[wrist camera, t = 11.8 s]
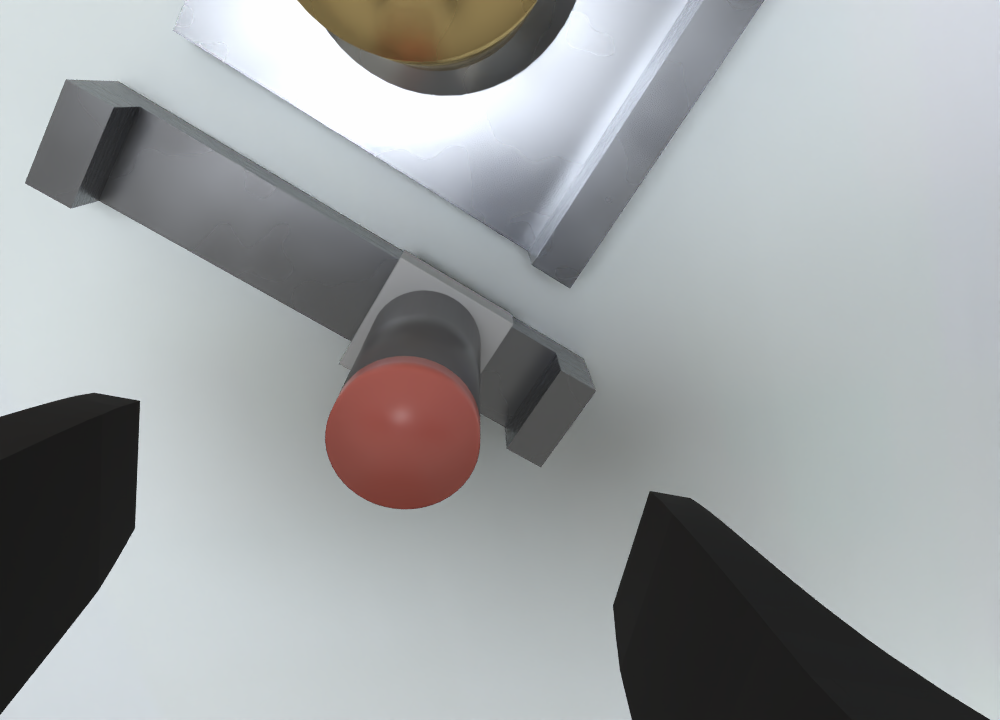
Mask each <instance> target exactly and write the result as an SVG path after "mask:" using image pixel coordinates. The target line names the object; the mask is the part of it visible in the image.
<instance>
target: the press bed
mask: <svg viewBox="0 0 1000 720" xmlns="http://www.w3.org/2000/svg"><path fill="white" fill-rule="evenodd" d="M763 1H764V0H537V2H536V4H535V5H534V7H533V9H532V10H531V12H530V13H529V15H528V17H527V18H526V20H525V22H524V23H523V25H522V26H521V28H520V29H519V30H518V31H517V33H516V34H515V35H514V36H513V38H512V39H510V40H509V41H508V42H507V43H506V44H505V45H504V46H503V47H502V48H501V49H499V50H498V51H497V52H495V53H494V54H493V55H491V56H490V57H488V58H486V59H484V60H482V61H480V62H478V63H476V64H473V65H470V66H468V67H465V68H460V69H456V70H449V71H426V70H421V69H416V68H411V67H408V66H405V65H403V64H400V63H397V62H394V61H391V60H389V59H386V58H383V57H380V56H377V55H375V54H372V53H369V52H366V51H364V50H361V49H359V48H357V47H355V46H353V45H351V44H349V43H347V42H345V41H343V40H342V39H340V38H339V37H337V36H336V35H334V34H333V33H332V32H330V31H329V30H327V29H326V28H324V27H323V26H322V25H321V24H320V23H319V22H318V21H316V20H315V19H314V18H313V17H312V16H311V15H310V14H309V13H308V12H307V11H306V10H305V9H304V8H303V7H302V6H301V4H300V3H299V2H298V1H297V0H186V1H185V3H184V5H183V8H182V10H181V12H180V15H179V17H178V19H177V21H176V24H175V26H174V28H173V31H174V32H176V33H178V34H179V35H181V36H182V37H184V38H186V39H187V40H189V41H190V42H192V43H194V44H195V45H197V46H199V47H200V48H202V49H203V50H205V51H207V52H208V53H210V54H211V55H213V56H215V57H216V58H218V59H219V60H221V61H223V62H224V63H226V64H228V65H229V66H231V67H232V68H234V69H236V70H237V71H239V72H240V73H242V74H244V75H245V76H247V77H248V78H250V79H252V80H253V81H255V82H257V83H258V84H260V85H261V86H263V87H265V88H266V89H268V90H269V91H271V92H273V93H274V94H276V95H277V96H279V97H281V98H282V99H284V100H286V101H287V102H289V103H290V104H292V105H294V106H295V107H297V108H298V109H300V110H302V111H303V112H305V113H306V114H308V115H310V116H311V117H313V118H315V119H316V120H318V121H319V122H321V123H323V124H324V125H326V126H327V127H329V128H331V129H332V130H334V131H335V132H337V133H339V134H340V135H342V136H344V137H345V138H347V139H348V140H350V141H352V142H353V143H355V144H356V145H358V146H360V147H361V148H363V149H364V150H366V151H368V152H369V153H371V154H373V155H374V156H376V157H377V158H379V159H381V160H382V161H384V162H385V163H387V164H389V165H390V166H392V167H393V168H395V169H397V170H398V171H400V172H402V173H403V174H405V175H406V176H408V177H410V178H411V179H413V180H414V181H416V182H418V183H419V184H421V185H422V186H424V187H426V188H427V189H429V190H431V191H432V192H434V193H435V194H437V195H439V196H440V197H442V198H443V199H445V200H447V201H448V202H450V203H451V204H453V205H455V206H456V207H458V208H460V209H461V210H463V211H464V212H466V213H468V214H469V215H471V216H472V217H474V218H476V219H477V220H479V221H480V222H482V223H484V224H485V225H487V226H489V227H490V228H492V229H493V230H495V231H497V232H498V233H500V234H501V235H503V236H505V237H506V238H508V239H509V240H511V241H513V242H514V243H516V244H518V245H519V246H521V247H522V248H524V249H526V250H527V251H528V253H529V256H530V260H531V263H532V265H533V266H534V267H536V268H538V269H539V270H541V271H543V272H544V273H546V274H547V275H549V276H551V277H552V278H554V279H556V280H557V281H559V282H560V283H562V284H564V285H565V286H567V287H569V288H571V286H572V285H573V283H574V282H575V280H576V279H577V277H578V276H579V274H580V273H581V271H582V270H583V268H584V267H585V265H586V264H587V262H588V261H589V259H590V258H591V256H592V255H593V253H594V252H595V251H596V249H597V248H598V246H599V245H600V243H601V242H602V240H603V239H604V237H605V236H606V234H607V233H608V231H609V230H610V228H611V227H612V225H613V224H614V222H615V221H616V219H617V218H618V216H619V215H620V213H621V212H622V210H623V209H624V207H625V206H626V204H627V203H628V202H629V200H630V199H631V197H632V196H633V194H634V193H635V191H636V190H637V188H638V187H639V185H640V184H641V182H642V181H643V179H644V178H645V176H646V175H647V173H648V172H649V170H650V169H651V167H652V166H653V164H654V163H655V161H656V160H657V158H658V157H659V155H660V154H661V153H662V151H663V150H664V148H665V147H666V145H667V144H668V142H669V141H670V139H671V138H672V136H673V135H674V133H675V132H676V130H677V129H678V127H679V126H680V124H681V123H682V121H683V120H684V118H685V117H686V115H687V114H688V112H689V111H690V109H691V108H692V106H693V105H694V104H695V102H696V101H697V99H698V98H699V96H700V95H701V93H702V92H703V90H704V89H705V87H706V86H707V84H708V83H709V81H710V80H711V78H712V77H713V75H714V74H715V72H716V71H717V69H718V68H719V66H720V65H721V63H722V62H723V60H724V59H725V58H726V56H727V55H728V53H729V52H730V50H731V49H732V47H733V46H734V44H735V43H736V41H737V40H738V38H739V37H740V35H741V34H742V32H743V31H744V29H745V28H746V26H747V25H748V23H749V22H750V20H751V19H752V17H753V16H754V14H755V13H756V11H757V10H758V9H759V7H760V6H761V4H762V3H763Z"/></svg>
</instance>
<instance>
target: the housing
mask: <svg viewBox="0 0 1000 720" xmlns="http://www.w3.org/2000/svg"><path fill="white" fill-rule="evenodd" d="M297 1H298V2H299V3H300V4H301V6H302V7H303V8H304V9H305V10H306V11H307V12H308V13H309V14H310V15H311V16H312V17H313V18H314V19H315V20H316V21H318V22H319V23H320V24H321V25H322V26H323V27H324V28H326V29H327V30H329V31H330V32H332V33H333V34H334V35H336V36H337V37H339V38H340V39H342V40H343V41H345V42H347V43H349V44H351V45H353V46H355V47H357V48H359V49H361V50H364V51H366V52H369V53H372V54H375V55H377V56H380V57H383V58H386V59H389V60H391V61H394V62H397V63H400V64H403V65H405V66H408V67H411V68H416V69H421V70H426V71H449V70H456V69H460V68H465V67H468V66H470V65H473V64H476V63H478V62H480V61H482V60H484V59H486V58H488V57H490V56H491V55H493V54H494V53H495V52H497V51H498V50H499V49H501V48H502V47H503V46H504V45H505V44H506V43H507V42H508V41H509V40H510V39H512V38H513V36H514V35H515V34H516V33H517V31H518V30H519V29H520V28H521V26H522V25H523V23H524V22H525V20H526V18H527V17H528V15H529V13H530V12H531V10H532V9H533V7H534V5H535V4H536V2H537V0H297Z"/></svg>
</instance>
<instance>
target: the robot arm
mask: <svg viewBox="0 0 1000 720" xmlns="http://www.w3.org/2000/svg"><path fill="white" fill-rule="evenodd" d="M139 413H140V401H137V400H132V399H126V398H121V397H115V396H109V395H104V394H98V393H90V394H84V395H78V396H74V397H69V398H65V399H61V400H57V401H54V402H50V403H46V404H43V405H39V406H36V407H32V408H29V409H25V410H22V411H18V412H15V413H12V414H8V415H5V416H1V417H0V714H1V713H2V712H3V711H4V709H5V708H6V707H7V706H8V704H9V703H10V702H11V701H12V699H13V698H14V697H15V696H16V694H17V693H18V692H19V691H20V689H21V688H22V687H23V686H24V684H25V683H26V682H27V681H28V679H29V678H30V677H31V675H32V674H33V673H34V672H35V670H36V669H37V668H38V667H39V665H40V664H41V663H42V662H43V660H44V659H45V658H46V657H47V655H48V654H49V653H50V652H51V650H52V649H53V648H54V647H55V645H56V644H57V643H58V642H59V640H60V639H61V638H62V637H63V635H64V634H65V633H66V631H67V630H68V629H69V628H70V626H71V625H72V624H73V623H74V621H75V620H76V619H77V617H78V616H79V615H80V614H81V612H82V611H83V610H84V608H85V607H86V606H87V605H88V603H89V602H90V601H91V599H92V598H93V597H94V595H95V594H96V593H97V592H98V590H99V589H100V587H101V585H102V584H103V582H104V580H105V579H106V577H107V576H108V574H109V572H110V571H111V569H112V567H113V566H114V564H115V562H116V561H117V559H118V557H119V555H120V554H121V552H122V550H123V548H124V547H125V545H126V543H127V541H128V540H129V538H130V536H131V534H132V533H133V531H134V529H135V513H136V488H137V463H138V438H139ZM613 610H614V620H615V631H616V641H617V649H618V657H619V665H620V672H621V676H622V680H623V685H624V689H625V693H626V697H627V701H628V705H629V709H630V713H631V718H632V720H990V719H988V718H987V717H985V716H983V715H981V714H980V713H978V712H977V711H975V710H973V709H972V708H970V707H968V706H967V705H965V704H964V703H962V702H960V701H959V700H957V699H955V698H954V697H952V696H951V695H949V694H947V693H946V692H944V691H943V690H941V689H940V688H938V687H937V686H935V685H934V684H932V683H931V682H929V681H928V680H926V679H925V678H923V677H922V676H920V675H919V674H917V673H916V672H914V671H913V670H911V669H910V668H908V667H907V666H905V665H904V664H902V663H901V662H899V661H898V660H896V659H895V658H893V657H892V656H890V655H889V654H887V653H886V652H885V651H883V650H882V649H880V648H879V647H878V646H876V645H875V644H873V643H872V642H871V641H869V640H868V639H866V638H865V637H864V636H862V635H861V634H860V633H858V632H857V631H856V630H854V629H853V628H852V627H851V626H849V625H848V624H847V623H845V622H844V621H843V620H841V619H840V618H839V617H837V616H836V615H835V614H833V613H832V612H831V611H829V610H828V609H827V608H826V607H824V606H823V605H822V604H820V603H819V602H818V601H817V600H815V599H814V598H813V597H812V596H810V595H809V594H808V593H807V592H805V591H804V590H803V589H802V588H800V587H799V586H798V585H797V584H796V583H794V582H793V581H792V580H791V579H790V578H788V577H787V576H786V575H785V574H783V573H782V572H781V571H780V570H779V569H778V568H776V567H775V566H774V565H773V564H772V563H770V562H769V561H768V560H767V559H766V558H764V557H763V556H762V555H761V554H760V553H759V552H757V551H756V550H755V549H754V548H753V547H751V546H750V545H749V544H748V543H747V542H746V541H744V540H743V539H742V538H741V537H740V536H739V535H737V534H736V533H735V532H734V531H733V530H731V529H730V528H729V527H728V526H727V525H725V524H724V523H723V522H722V521H721V520H719V519H718V518H717V517H716V516H714V515H713V514H712V513H711V512H709V511H708V510H707V509H705V508H704V507H703V506H701V505H700V504H698V503H697V502H695V501H694V500H692V499H691V498H686V497H680V496H675V495H669V494H663V493H658V492H652V491H650V492H649V495H648V498H647V502H646V505H645V508H644V511H643V514H642V517H641V520H640V523H639V526H638V530H637V533H636V536H635V539H634V542H633V545H632V548H631V551H630V554H629V558H628V561H627V564H626V567H625V570H624V573H623V576H622V579H621V583H620V586H619V589H618V592H617V595H616V598H615V601H614V604H613Z"/></svg>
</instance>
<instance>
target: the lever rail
mask: <svg viewBox="0 0 1000 720" xmlns="http://www.w3.org/2000/svg"><path fill="white" fill-rule="evenodd" d="M25 183H26V184H27V185H29V186H31V187H33V188H35V189H37V190H38V191H40V192H42V193H44V194H46V195H47V196H49V197H51V198H53V199H55V200H56V201H58V202H60V203H62V204H64V205H66V206H67V207H69V208H74V207H78V206H82V205H85V204H89V203H92V202H96V201H101V202H102V203H104V204H106V205H108V206H109V207H111V208H113V209H115V210H117V211H118V212H120V213H122V214H124V215H126V216H127V217H129V218H131V219H133V220H135V221H136V222H138V223H140V224H142V225H144V226H145V227H147V228H149V229H151V230H153V231H154V232H156V233H158V234H160V235H162V236H163V237H165V238H167V239H169V240H170V241H172V242H174V243H176V244H178V245H179V246H181V247H183V248H185V249H187V250H188V251H190V252H192V253H194V254H196V255H197V256H199V257H201V258H203V259H205V260H206V261H208V262H210V263H212V264H214V265H215V266H217V267H219V268H221V269H222V270H224V271H226V272H228V273H230V274H231V275H233V276H235V277H237V278H239V279H240V280H242V281H244V282H246V283H248V284H249V285H251V286H253V287H255V288H257V289H258V290H260V291H262V292H264V293H266V294H267V295H269V296H271V297H273V298H274V299H276V300H278V301H280V302H282V303H283V304H285V305H287V306H289V307H291V308H292V309H294V310H296V311H298V312H300V313H301V314H303V315H305V316H307V317H309V318H310V319H312V320H314V321H316V322H318V323H319V324H321V325H323V326H325V327H327V328H328V329H330V330H332V331H334V332H335V333H337V334H339V335H341V336H343V337H344V338H346V339H348V340H350V341H352V339H353V337H354V336H355V334H356V332H357V331H358V329H359V327H360V325H361V324H362V322H363V320H364V319H365V317H366V315H367V313H368V312H369V310H370V308H371V307H372V305H373V303H374V301H375V300H376V298H377V296H378V295H379V293H380V291H381V290H382V288H383V286H384V284H385V283H386V281H387V279H388V278H389V276H390V274H391V272H392V271H393V269H394V267H395V266H396V264H397V262H398V260H399V259H400V257H401V255H402V254H403V251H402V250H400V249H398V248H397V247H395V246H393V245H392V244H390V243H388V242H387V241H385V240H383V239H382V238H380V237H378V236H377V235H375V234H373V233H372V232H370V231H368V230H367V229H365V228H363V227H361V226H360V225H358V224H356V223H355V222H353V221H351V220H350V219H348V218H346V217H345V216H343V215H341V214H340V213H338V212H336V211H335V210H333V209H331V208H330V207H328V206H326V205H325V204H323V203H321V202H319V201H318V200H316V199H314V198H313V197H311V196H309V195H308V194H306V193H304V192H303V191H301V190H299V189H298V188H296V187H294V186H293V185H291V184H289V183H288V182H286V181H284V180H283V179H281V178H279V177H278V176H276V175H274V174H272V173H271V172H269V171H267V170H266V169H264V168H262V167H261V166H259V165H257V164H256V163H254V162H252V161H251V160H249V159H247V158H246V157H244V156H242V155H241V154H239V153H237V152H236V151H234V150H232V149H231V148H229V147H227V146H225V145H224V144H222V143H220V142H219V141H217V140H215V139H214V138H212V137H210V136H209V135H207V134H205V133H204V132H202V131H200V130H199V129H197V128H195V127H194V126H192V125H190V124H189V123H187V122H185V121H184V120H182V119H180V118H178V117H177V116H175V115H173V114H172V113H170V112H168V111H167V110H165V109H163V108H162V107H160V106H158V105H157V104H155V103H153V102H152V101H150V100H148V99H147V98H145V97H143V96H142V95H140V94H138V93H137V92H135V91H133V90H131V89H130V88H128V87H126V86H125V85H123V84H121V83H120V82H118V81H93V80H66V81H65V83H64V86H63V88H62V91H61V93H60V96H59V98H58V101H57V103H56V106H55V108H54V111H53V114H52V116H51V119H50V121H49V124H48V126H47V129H46V131H45V134H44V136H43V139H42V141H41V144H40V146H39V149H38V151H37V154H36V157H35V159H34V162H33V164H32V167H31V169H30V172H29V174H28V177H27V179H26V182H25ZM512 318H513V325H512V327H511V328H510V330H509V331H508V333H507V335H506V336H505V338H504V339H503V341H502V342H501V344H500V345H499V347H498V348H497V350H496V351H495V353H494V354H493V356H492V357H491V359H490V360H489V362H488V363H487V365H486V366H485V368H484V369H483V371H482V373H481V374H480V413H481V414H483V415H484V416H486V417H488V418H490V419H492V420H493V421H495V422H497V423H499V424H500V425H502V426H504V427H505V432H506V446H507V449H509V450H510V451H512V452H514V453H516V454H518V455H520V456H521V457H523V458H525V459H527V460H529V461H530V462H532V463H534V464H536V465H538V466H539V467H541V466H542V465H543V464H544V462H545V461H546V459H547V458H548V457H549V455H550V454H551V452H552V451H553V450H554V448H555V447H556V446H557V444H558V443H559V441H560V440H561V439H562V437H563V436H564V434H565V433H566V432H567V430H568V429H569V428H570V426H571V425H572V423H573V422H574V421H575V419H576V418H577V416H578V415H579V414H580V412H581V411H582V409H583V408H584V407H585V405H586V404H587V403H588V401H589V400H590V398H591V397H592V396H593V394H594V393H595V391H596V390H595V387H594V384H593V382H592V379H591V377H590V374H589V371H588V369H587V366H586V364H585V361H584V359H583V358H581V357H580V356H578V355H576V354H575V353H573V352H571V351H570V350H568V349H566V348H565V347H563V346H561V345H560V344H558V343H556V342H555V341H553V340H551V339H549V338H548V337H546V336H544V335H543V334H541V333H539V332H538V331H536V330H534V329H533V328H531V327H529V326H528V325H526V324H524V323H523V322H521V321H519V320H518V319H516V318H514V317H513V316H512Z"/></svg>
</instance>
